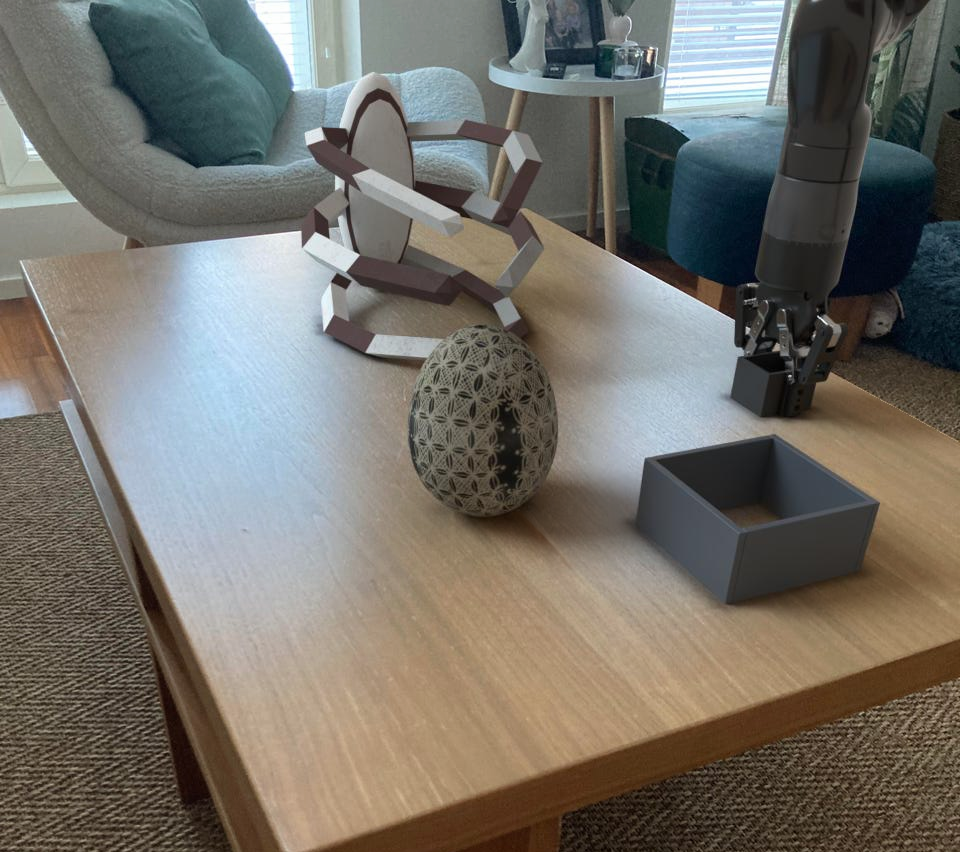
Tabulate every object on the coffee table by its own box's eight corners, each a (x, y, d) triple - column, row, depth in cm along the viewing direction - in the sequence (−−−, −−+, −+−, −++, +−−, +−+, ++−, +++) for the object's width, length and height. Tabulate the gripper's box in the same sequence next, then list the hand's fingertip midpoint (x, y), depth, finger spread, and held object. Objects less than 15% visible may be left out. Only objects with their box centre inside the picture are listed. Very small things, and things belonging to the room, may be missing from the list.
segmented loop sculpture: (461, 264, 136) (589, 377, 112) (263, 288, 127) (356, 416, 103) (468, 57, 121) (619, 137, 97) (242, 67, 111) (347, 159, 88)
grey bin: (759, 505, 86) (774, 433, 82) (858, 579, 77) (880, 502, 73) (634, 532, 82) (644, 457, 78) (723, 613, 73) (739, 533, 69)
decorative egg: (438, 556, 78) (439, 366, 69) (389, 487, 87) (384, 310, 78) (576, 530, 82) (594, 346, 73) (516, 467, 90) (525, 295, 81)
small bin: (777, 396, 105) (787, 349, 102) (808, 415, 101) (820, 366, 98) (728, 404, 103) (737, 356, 100) (758, 424, 99) (769, 375, 96)
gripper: (895, 246, 88) (847, 430, 98) (789, 205, 98) (756, 376, 108) (825, 254, 85) (783, 442, 95) (724, 211, 96) (696, 385, 106)
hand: (769, 406), depth 102 cm, fingers closed on small bin, 5 cm apart
